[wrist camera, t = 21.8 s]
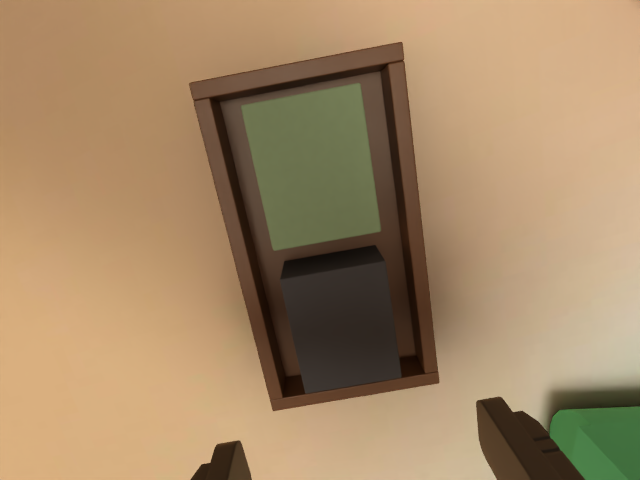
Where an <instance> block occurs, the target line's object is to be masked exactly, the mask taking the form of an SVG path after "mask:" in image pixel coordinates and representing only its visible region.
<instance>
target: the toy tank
mask: <svg viewBox="0 0 640 480" xmlns="http://www.w3.org/2000/svg"><path fill="white" fill-rule="evenodd" d="M549 435H550V438H551V439H553V440H554V442H555V443H556V444H557V445H558V446H559V448H560V450H561V451H563V453H564V454H565V455H566V456H567V458H568V459H569V460H570V461H571V463H572V464H573V465H574V466H575V468H576V469H577V470H578V471H579V472H580V474H581V475H582V476H583V477H584V479H585V480H640V406H636V407H612V408H587V409H566V410H559V411H558V412H557V413H556V414H555V415H554V416H553V418H552V421H551V424H550V434H549Z"/></svg>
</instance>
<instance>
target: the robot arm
mask: <svg viewBox="0 0 640 480" xmlns="http://www.w3.org/2000/svg"><path fill="white" fill-rule="evenodd" d="M476 408H477V421H478V434H479V441H480V445H481V448H482V451H483V454H484V456H485V458H486V460H487V462H488V464H489V466H490V467H491V469H492V471H493V473H494V475H495V476H496V478H497V480H585V479H584V477H583V476H582V475H581V474H580V472H579V471H578V470H577V469H576V468H575V466H574V465H573V464H572V463H571V461H570V460H569V459H568V458H567V456H566V455H565V454H564V453H563V451H561V450H560V448H559V446H558V445H557V444H556V443H555V442H554V440H553V439H551V438H550V435H549V434H548V433H547V432H546V430H545V429H544V428H543V427H542V425H541V424H540V423H539V422H538V421H537V420H535V419H534V418H532V417H531V416H529V415H528V414H526V413H525V412H523V411H518V412H512V411H511V409H510V408H509V406H508V405H507V404H506V402H505V401H504V400H503V399H502V398H501V397H495V398H489V399H483V400H478V401H477V402H476ZM191 480H252V479H251V474H250V470H249V467H248V464H247V460H246V457H245V453H244V450H243V447H242V444H241V442H240V441H233V442H227V443H221V444H217V445H216V447H215V450H214V453H213V456H212V459H211V463H207V464H202V465H201V466H200V467H199V469H198V470H197V472H196V473H195V474H194V476H193V477H192V478H191Z"/></svg>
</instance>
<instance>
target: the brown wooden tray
mask: <svg viewBox="0 0 640 480" xmlns="http://www.w3.org/2000/svg"><path fill="white" fill-rule="evenodd" d="M403 60H404V53H403V44H402V42H398V43H393V44H388V45H382V46H377V47H372V48H367V49H362V50H357V51H351V52H346V53H341V54H336V55H331V56H326V57H320V58H315V59H310V60H305V61H300V62H295V63H289V64H284V65H279V66H274V67H269V68H264V69H259V70H253V71H248V72H243V73H238V74H233V75H228V76H222V77H217V78H212V79H207V80H202V81H197V82H191V83H189V86H190V90H191V94H192V98H193V100H194V106H195V110H196V113H197V117H198V121H199V125H200V129H201V133H202V137H203V141H204V145H205V148H206V152H207V156H208V160H209V164H210V168H211V172H212V176H213V180H214V183H215V187H216V191H217V195H218V199H219V203H220V207H221V211H222V215H223V218H224V222H225V226H226V230H227V234H228V238H229V242H230V246H231V250H232V253H233V257H234V261H235V265H236V269H237V273H238V277H239V281H240V285H241V289H242V292H243V296H244V300H245V304H246V308H247V312H248V316H249V320H250V324H251V327H252V331H253V335H254V339H255V343H256V347H257V351H258V355H259V359H260V362H261V366H262V370H263V374H264V378H265V382H266V386H267V390H268V394H269V397H270V401H271V405H272V409H273V411H276V410H282V409H288V408H294V407H300V406H306V405H312V404H318V403H324V402H330V401H336V400H342V399H348V398H354V397H360V396H366V395H372V394H378V393H384V392H390V391H395V390H401V389H407V388H413V387H419V386H425V385H431V384H437V383H439V375H438V367H437V358H436V349H435V340H434V330H433V321H432V312H431V303H430V294H429V284H428V275H427V266H426V257H425V248H424V238H423V229H422V220H421V211H420V202H419V192H418V183H417V174H416V165H415V156H414V146H413V137H412V128H411V119H410V110H409V100H408V91H407V82H406V73H405V64H404V61H403ZM355 83H360V84H361V89H362V96H363V103H364V110H365V118H366V125H367V132H368V139H369V146H370V153H371V160H372V168H373V175H374V182H375V189H376V196H377V203H378V210H379V218H380V225H381V231H380V232H377V233H371V234H366V235H360V236H355V237H349V238H343V239H338V240H332V241H327V242H321V243H316V244H310V245H305V246H299V247H293V248H288V249H282V250H277V251H274V250H273V248H272V244H271V239H270V235H269V230H268V226H267V221H266V217H265V213H264V208H263V204H262V199H261V195H260V190H259V186H258V181H257V177H256V173H255V168H254V164H253V159H252V155H251V150H250V146H249V141H248V137H247V133H246V128H245V124H244V119H243V115H242V110H241V106H242V105H245V104H250V103H255V102H261V101H266V100H271V99H276V98H282V97H287V96H292V95H297V94H303V93H308V92H313V91H318V90H323V89H329V88H334V87H339V86H344V85H350V84H355ZM373 245H376V247H377V248H378V250H379V252H380V253H381V255H382V256H383V258H384V260H385V261H386V267H387V274H388V282H389V289H390V296H391V303H392V310H393V317H394V325H395V332H396V339H397V346H398V353H399V360H400V368H401V375H402V377H401V378H396V379H390V380H384V381H378V382H372V383H366V384H360V385H354V386H348V387H342V388H336V389H331V390H325V391H319V392H313V393H307V394H306V393H305V390H304V386H303V382H302V377H301V373H300V368H299V364H298V359H297V355H296V350H295V346H294V342H293V337H292V333H291V328H290V324H289V319H288V315H287V310H286V306H285V302H284V297H283V293H282V288H281V284H280V277H281V273H282V269H283V264H284V261H289V260H294V259H300V258H305V257H311V256H317V255H322V254H328V253H333V252H339V251H345V250H350V249H356V248H361V247H367V246H373Z"/></svg>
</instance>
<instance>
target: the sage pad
mask: <svg viewBox="0 0 640 480" xmlns="http://www.w3.org/2000/svg"><path fill="white" fill-rule="evenodd" d="M241 110H242V115H243V119H244V124H245V128H246V133H247V137H248V141H249V146H250V150H251V155H252V159H253V164H254V168H255V173H256V177H257V181H258V186H259V190H260V195H261V199H262V204H263V208H264V213H265V217H266V221H267V226H268V230H269V235H270V239H271V244H272V248H273V250H274V251H277V250H282V249H288V248H293V247H299V246H305V245H310V244H316V243H321V242H327V241H332V240H338V239H343V238H349V237H355V236H360V235H366V234H371V233H377V232H380V231H381V225H380V218H379V210H378V203H377V196H376V189H375V182H374V175H373V168H372V160H371V153H370V146H369V139H368V132H367V125H366V118H365V110H364V103H363V96H362V89H361V84H360V83H355V84H350V85H344V86H339V87H334V88H329V89H323V90H318V91H313V92H308V93H303V94H297V95H292V96H287V97H282V98H276V99H271V100H266V101H261V102H255V103H250V104H245V105H242V106H241Z"/></svg>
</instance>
